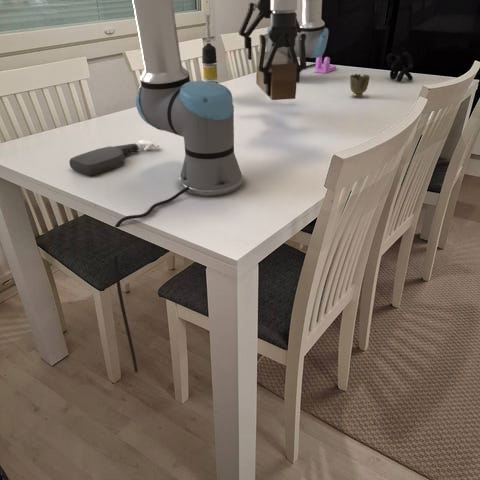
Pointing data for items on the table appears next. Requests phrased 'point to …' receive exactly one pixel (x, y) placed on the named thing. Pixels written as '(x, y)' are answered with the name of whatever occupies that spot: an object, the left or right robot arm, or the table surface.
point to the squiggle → (399, 66)
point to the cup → (359, 84)
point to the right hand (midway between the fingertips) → (269, 58)
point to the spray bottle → (106, 157)
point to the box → (279, 77)
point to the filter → (209, 57)
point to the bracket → (324, 65)
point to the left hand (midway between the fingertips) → (280, 93)
